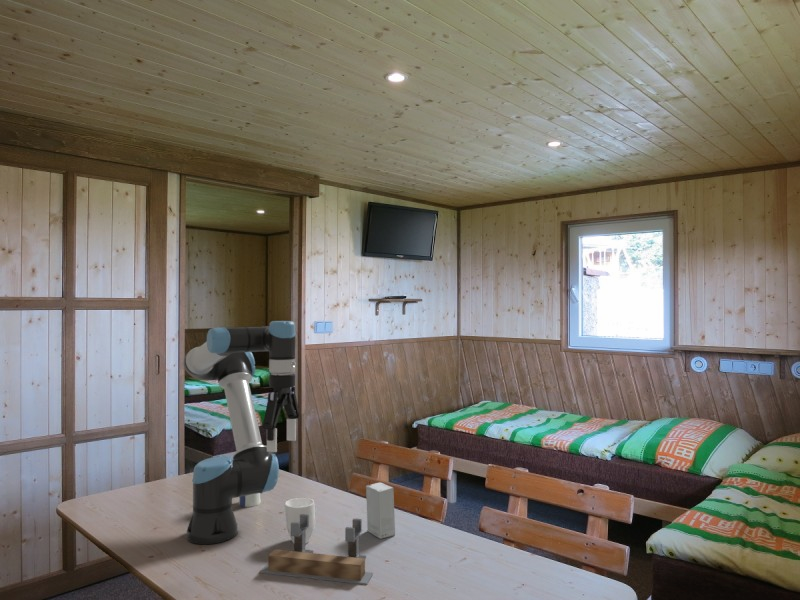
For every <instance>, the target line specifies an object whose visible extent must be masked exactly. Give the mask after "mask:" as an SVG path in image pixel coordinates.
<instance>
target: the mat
mask: <svg viewBox="0 0 800 600" xmlns="http://www.w3.org/2000/svg"><path fill="white" fill-rule="evenodd" d="M259 573H260V574H268V575H278V576H284V577H285V576H286V577H287V576H288V577H295V578H304V579H312V580H321V581H329V582H339V583H348V584H356V585H365V586H367V585H368V583H369V582H370V580H371V579H372V577H373V575H374V572H371V571H365V574H364V576H363V578H362V579H361V581H358V580H350V579H341V578H332V577H323V576H314V575H305V574H297V573H288V572H279V571H270V570H268V562H267V563H266V564H265V565H264V566H263V567H262V568H261V569H260V570H259Z"/></svg>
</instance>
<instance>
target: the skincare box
mask: <svg viewBox="0 0 800 600" xmlns="http://www.w3.org/2000/svg"><path fill="white" fill-rule="evenodd" d="M365 492H366V493H365V494H366V495H365V497H366V500H365V501H366V518H367V519H366V520H367V521H366V522H367V523H366V528H367V530H366V531H367V532H368V533H370V534H371V535H373V536H374V537H377V538H378V539H381V540H382V539H384V538H389V537H390V538H391V537H394V536H395V535H396V521H395V500H394V499H395V498H394V495H395V494H394V493H395V492H394V487H392V486H390V485H387V484H385V483H383V482H375V483H372V484H368V485H365Z"/></svg>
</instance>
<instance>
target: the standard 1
mask: <svg viewBox="0 0 800 600" xmlns="http://www.w3.org/2000/svg"><path fill="white" fill-rule="evenodd" d="M308 527H309V515H308V514H301V515H300V523H296V522H292V523H291V536H294V543H293V546H294V547H293V551H296V552H306V553H314V550H312V549H311V550H310V549H306V544H305V535H306V529H307V528H308Z"/></svg>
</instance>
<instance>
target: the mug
mask: <svg viewBox="0 0 800 600" xmlns="http://www.w3.org/2000/svg"><path fill="white" fill-rule="evenodd" d="M284 504H285V505H284V507H285V509H284V510H285V525H286V530H287V533H288V534H289V536H290V537H289V538H290V540H291V541H292V544H294V536H291V523H292V522H296V523H300V515H301V514H308V515H309V527H308V528H307V529H306V535H305V545H307V544H308V543H309V542H310V540H311V538H312V536H313V532H314V530H315V526H316V521H317V516H318V509H317V508H318V507H317V505H316V504H315V500H314V499H312V498H309V497H295V498H291V499H288V500H287V501H285V503H284Z"/></svg>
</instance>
